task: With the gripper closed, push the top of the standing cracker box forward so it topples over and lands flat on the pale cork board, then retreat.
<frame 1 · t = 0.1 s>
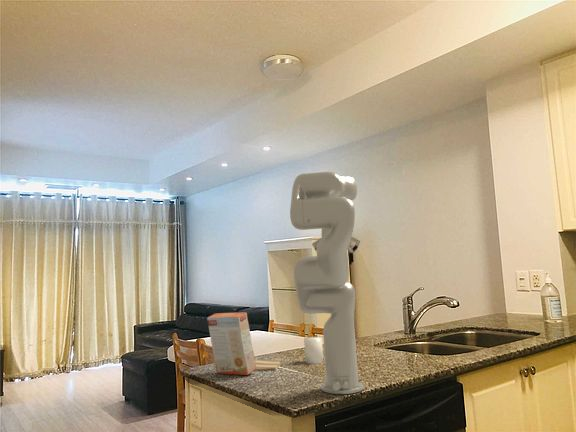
hand: (337, 265, 157), 37 cm above the worktop, tool pointing down, fingers open, 9 cm apart
cracker box: (236, 372, 156), point 1 cm above the worktop
white rounded block: (314, 361, 169), on the worktop
cork board: (255, 366, 167), on the worktop
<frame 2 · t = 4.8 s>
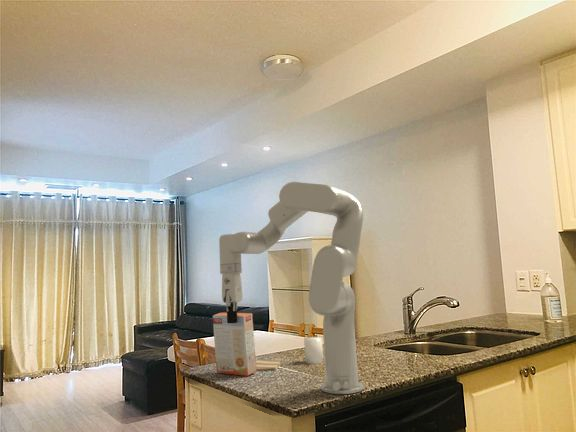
hand: (232, 322, 150), 19 cm above the worktop, tool pointing down, fingers closed
cracker box: (236, 372, 156), on the worktop, touching cork board
everything else where it was.
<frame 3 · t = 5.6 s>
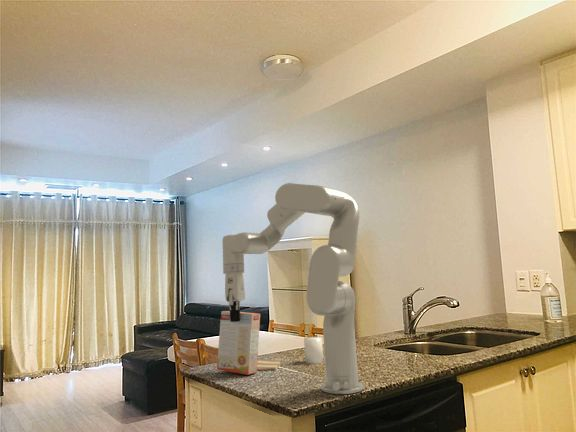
hand: (235, 321, 154), 19 cm above the worktop, tool pointing down, fingers closed
cracker box: (236, 372, 156), on the worktop, touching cork board, gripper
everything else where it was.
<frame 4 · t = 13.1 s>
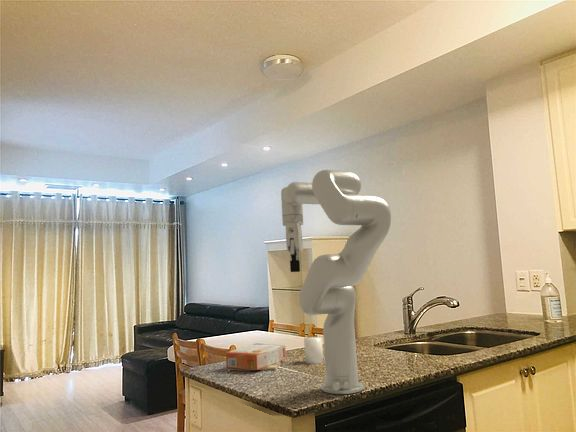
hand: (295, 271, 155), 35 cm above the worktop, tool pointing down, fingers closed
cracker box: (240, 361, 158), point 4 cm above the worktop, touching cork board
everything else where it was.
at the end: cracker box tilted 89°; cracker box inside the target area (7.7 cm from its centre), point 3.6 cm above the worktop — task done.
